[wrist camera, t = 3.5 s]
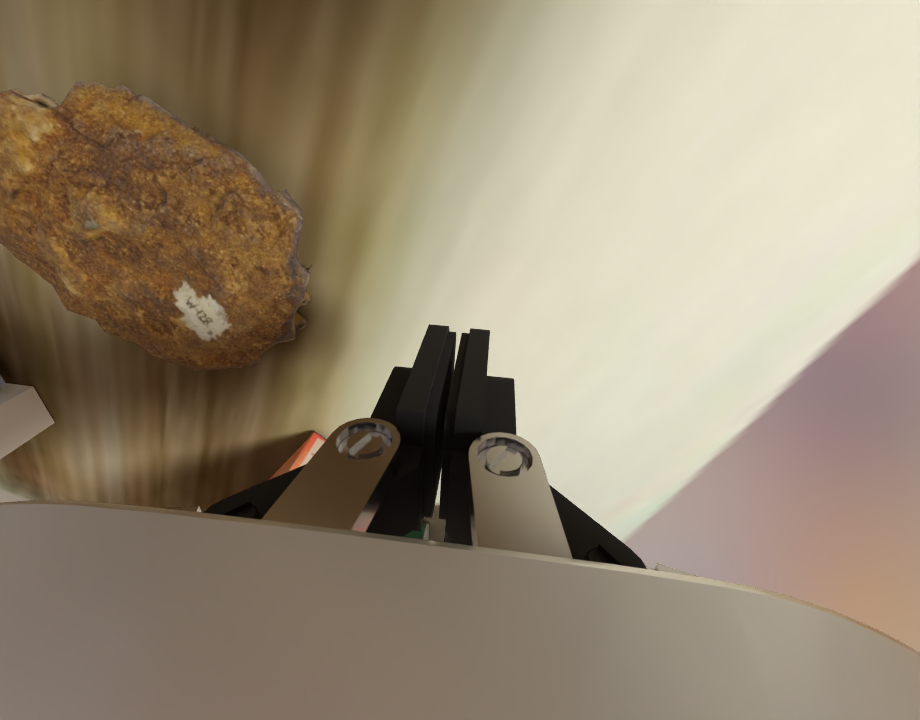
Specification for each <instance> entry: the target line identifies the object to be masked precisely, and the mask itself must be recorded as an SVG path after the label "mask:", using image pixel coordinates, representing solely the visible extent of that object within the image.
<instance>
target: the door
mask: <svg viewBox="0 0 920 720" xmlns="http://www.w3.org/2000/svg"><path fill="white" fill-rule="evenodd" d="M4 384H6V383H5V381H4V380H3V378H2V377H1V375H0V387H1V386H2V385H4Z"/></svg>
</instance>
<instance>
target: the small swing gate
mask: <svg viewBox="0 0 920 720" xmlns="http://www.w3.org/2000/svg"><path fill="white" fill-rule="evenodd" d="M54 423H55V422H54V421H53V419H52V417H51V416H50V414H49V412H48V410H47V409H46V407H45V405H44V404H43V402H42V400H41V399H40V397H39V395H38V394H37V392H36V390H35V389H34V387H33V386H26V385H18V384H9V383H6V384H4V385H2V386H1V387H0V459H2V458H3V457H4V456H6V455H7V454H9V453H10V452H12V451H13V450H15V449H16V448H18V447H19V446H21V445H22V444H24V443H25V442H27V441H28V440H30V439H31V438H33V437H34V436H36V435H37V434H39V433H40V432H42V431H43V430H45V429H46V428H48V427H49V426H51V425H52V424H54Z"/></svg>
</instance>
